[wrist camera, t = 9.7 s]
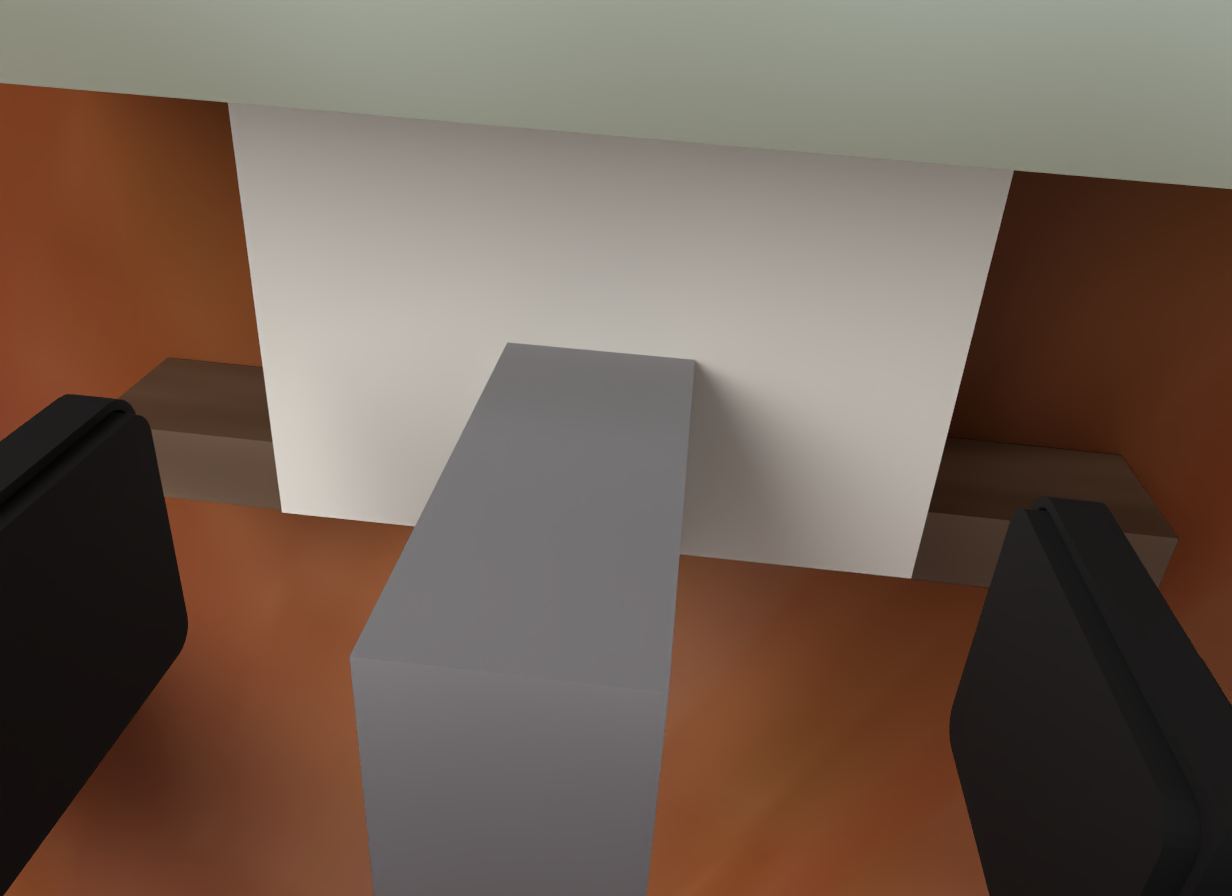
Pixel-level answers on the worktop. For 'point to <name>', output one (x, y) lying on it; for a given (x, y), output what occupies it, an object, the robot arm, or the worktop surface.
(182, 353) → the worktop surface
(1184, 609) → the worktop surface
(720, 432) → the white block gray post
